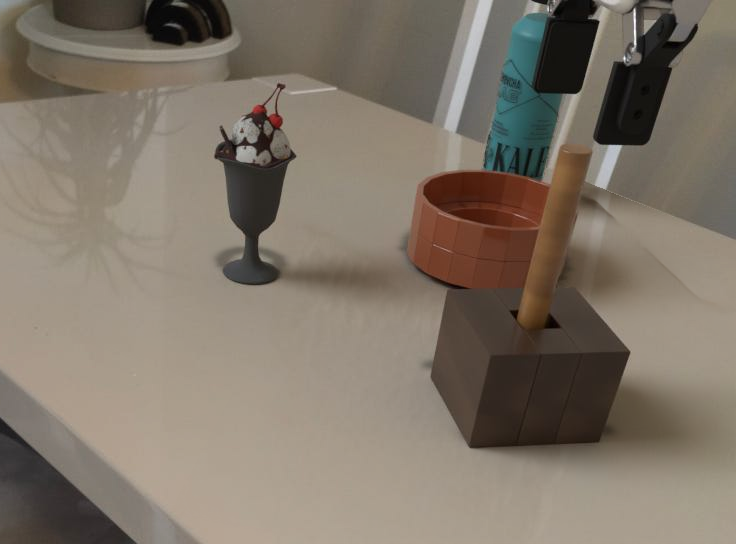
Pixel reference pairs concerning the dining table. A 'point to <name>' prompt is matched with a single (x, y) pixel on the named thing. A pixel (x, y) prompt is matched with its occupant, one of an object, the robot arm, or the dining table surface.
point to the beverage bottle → (522, 107)
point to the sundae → (254, 185)
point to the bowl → (478, 227)
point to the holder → (526, 369)
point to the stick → (553, 234)
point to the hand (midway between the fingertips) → (585, 116)
